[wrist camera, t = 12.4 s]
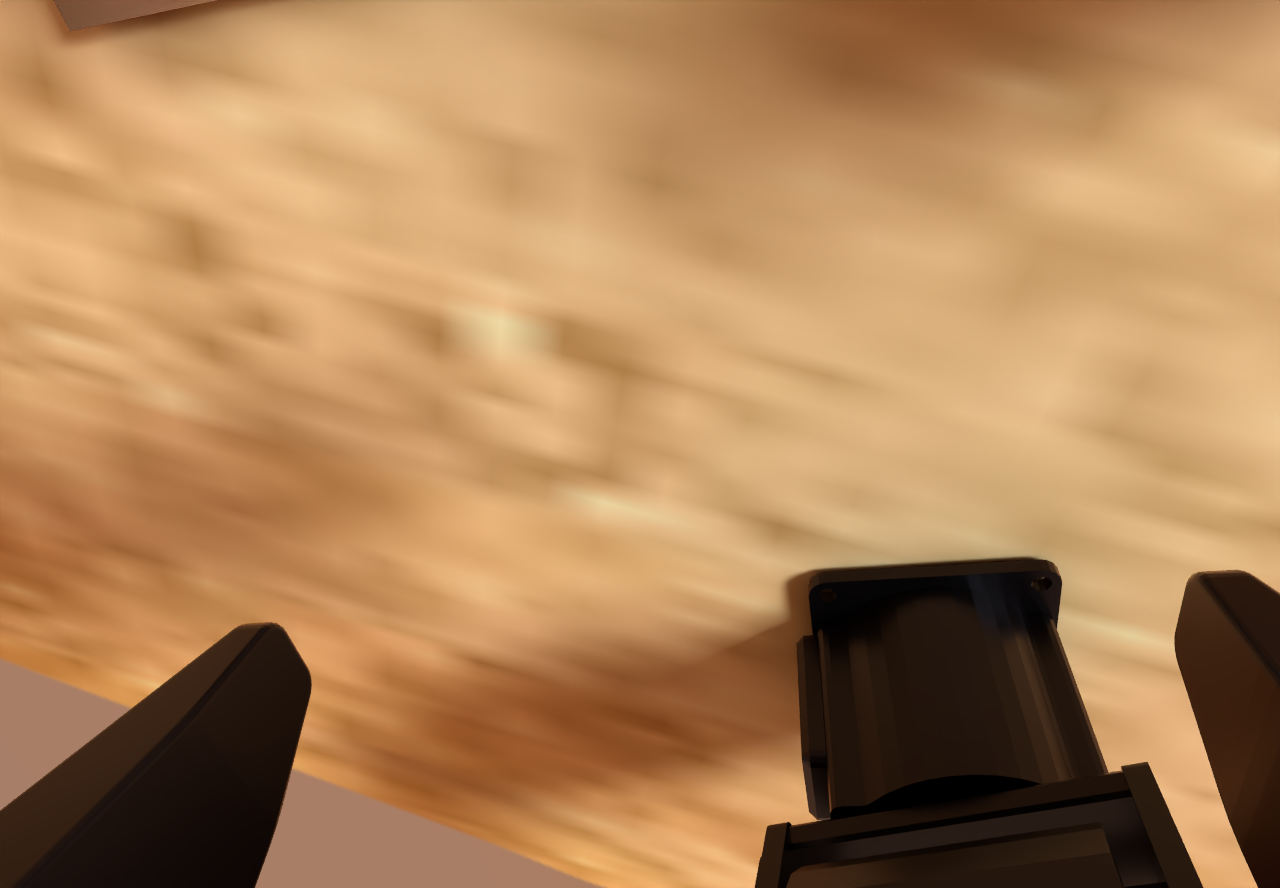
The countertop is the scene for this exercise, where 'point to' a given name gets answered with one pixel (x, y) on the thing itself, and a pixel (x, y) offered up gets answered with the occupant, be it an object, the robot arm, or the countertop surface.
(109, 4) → the socket board
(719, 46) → the countertop surface
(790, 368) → the countertop surface
